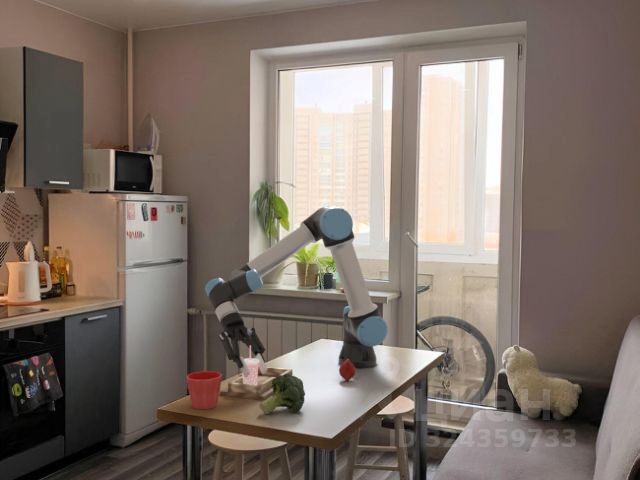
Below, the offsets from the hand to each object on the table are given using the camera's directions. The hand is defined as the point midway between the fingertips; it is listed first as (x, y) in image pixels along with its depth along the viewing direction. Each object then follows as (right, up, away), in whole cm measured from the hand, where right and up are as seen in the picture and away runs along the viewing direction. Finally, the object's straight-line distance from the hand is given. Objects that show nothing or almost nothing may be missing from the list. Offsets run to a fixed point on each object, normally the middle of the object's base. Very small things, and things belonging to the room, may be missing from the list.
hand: (256, 373), depth 219 cm
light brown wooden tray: (0, -7, +10) cm, 12 cm away
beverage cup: (-2, -5, +3) cm, 7 cm away
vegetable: (+10, -9, -17) cm, 21 cm away
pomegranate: (+31, -7, +19) cm, 37 cm away
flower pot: (-15, -8, -12) cm, 21 cm away
